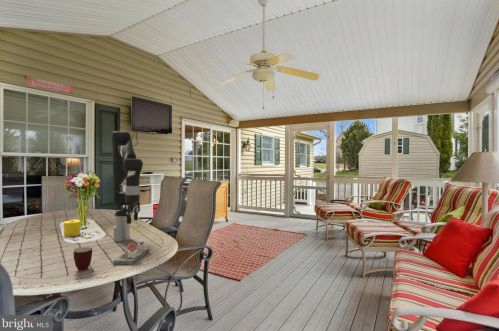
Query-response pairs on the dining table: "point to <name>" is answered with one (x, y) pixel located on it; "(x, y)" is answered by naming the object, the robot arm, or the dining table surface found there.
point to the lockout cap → (131, 246)
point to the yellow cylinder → (72, 228)
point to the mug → (82, 258)
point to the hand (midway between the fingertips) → (132, 221)
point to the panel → (125, 260)
